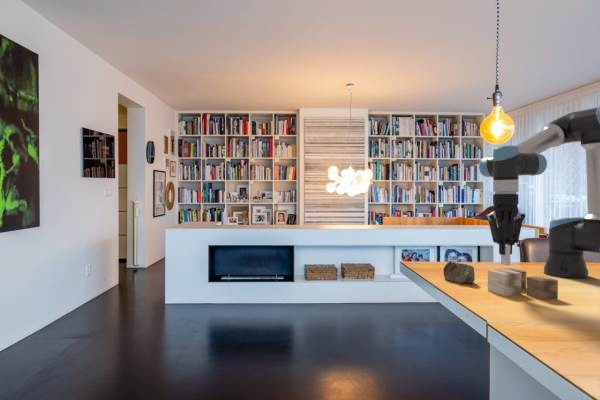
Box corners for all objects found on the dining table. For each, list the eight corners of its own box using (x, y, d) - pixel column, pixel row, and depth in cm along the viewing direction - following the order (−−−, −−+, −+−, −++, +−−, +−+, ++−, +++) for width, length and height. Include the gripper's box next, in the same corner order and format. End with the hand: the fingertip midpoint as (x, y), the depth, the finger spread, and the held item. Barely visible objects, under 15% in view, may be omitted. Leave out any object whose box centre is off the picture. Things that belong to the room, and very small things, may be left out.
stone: (467, 284, 143) (468, 265, 143) (439, 279, 153) (440, 260, 153) (479, 283, 147) (480, 264, 147) (451, 277, 157) (451, 259, 157)
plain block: (504, 289, 137) (504, 269, 137) (521, 294, 131) (521, 273, 130) (487, 290, 135) (487, 270, 135) (504, 296, 128) (504, 274, 128)
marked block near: (514, 284, 144) (514, 267, 144) (526, 288, 138) (526, 270, 138) (498, 285, 143) (499, 268, 143) (510, 289, 137) (510, 271, 137)
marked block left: (543, 294, 130) (543, 275, 130) (557, 299, 124) (557, 279, 124) (526, 295, 130) (526, 276, 129) (540, 300, 124) (540, 280, 123)
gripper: (515, 192, 137) (515, 261, 137) (480, 193, 135) (480, 263, 136) (531, 192, 130) (531, 265, 130) (494, 193, 128) (494, 267, 128)
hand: (505, 264), depth 133 cm, fingers closed
